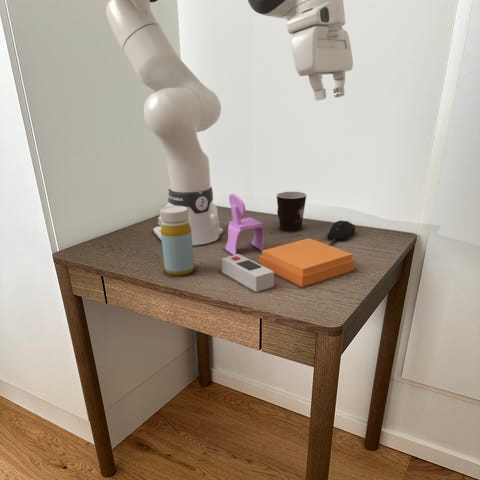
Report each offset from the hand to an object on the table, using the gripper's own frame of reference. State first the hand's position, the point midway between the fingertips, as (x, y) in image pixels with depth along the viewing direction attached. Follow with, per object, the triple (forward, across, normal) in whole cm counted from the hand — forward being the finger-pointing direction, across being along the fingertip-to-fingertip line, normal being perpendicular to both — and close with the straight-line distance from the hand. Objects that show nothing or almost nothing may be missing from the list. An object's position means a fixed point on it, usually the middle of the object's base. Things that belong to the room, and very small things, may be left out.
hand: (330, 98), depth 93 cm
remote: (+33, +15, -19) cm, 41 cm away
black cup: (+32, -22, -28) cm, 48 cm away
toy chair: (+31, -1, -30) cm, 43 cm away
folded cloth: (+35, +3, -10) cm, 37 cm away
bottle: (+30, +19, -35) cm, 50 cm away
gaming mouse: (+35, -23, -12) cm, 44 cm away
